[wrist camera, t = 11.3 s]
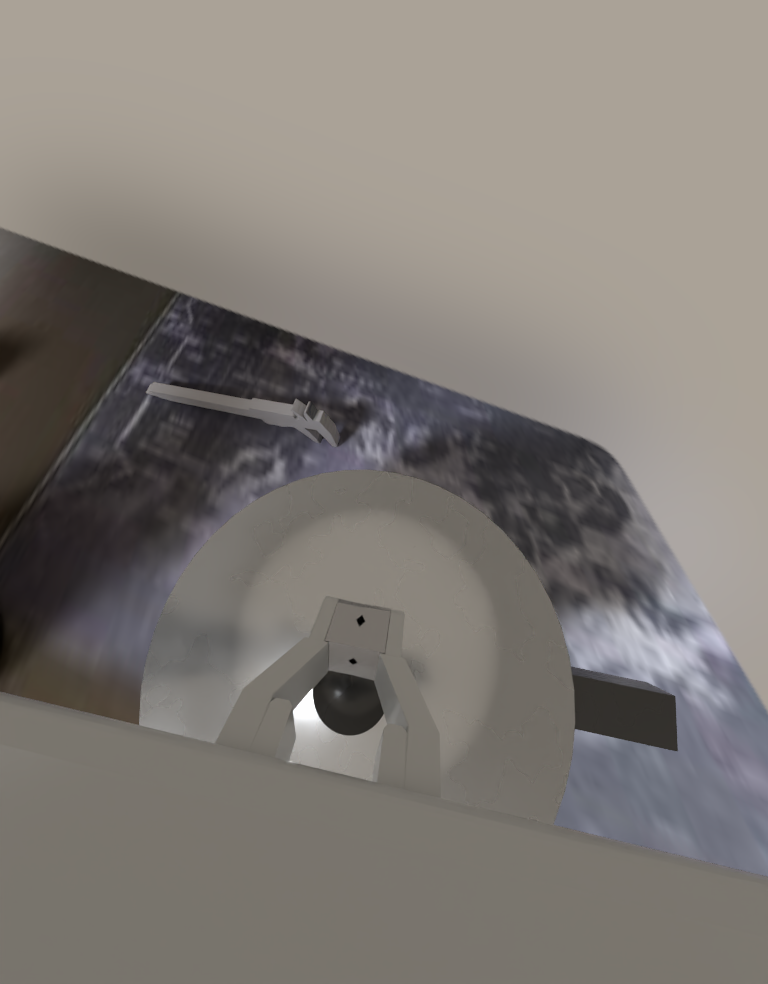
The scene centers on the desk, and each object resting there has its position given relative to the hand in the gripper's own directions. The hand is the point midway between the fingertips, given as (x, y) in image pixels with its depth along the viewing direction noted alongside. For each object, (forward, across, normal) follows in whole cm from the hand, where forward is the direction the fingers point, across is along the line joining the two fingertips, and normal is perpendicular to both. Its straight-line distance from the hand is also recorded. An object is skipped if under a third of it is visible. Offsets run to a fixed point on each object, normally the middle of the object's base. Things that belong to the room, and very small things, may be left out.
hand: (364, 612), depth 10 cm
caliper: (+19, +16, +1) cm, 25 cm away
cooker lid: (0, 0, +5) cm, 5 cm away
